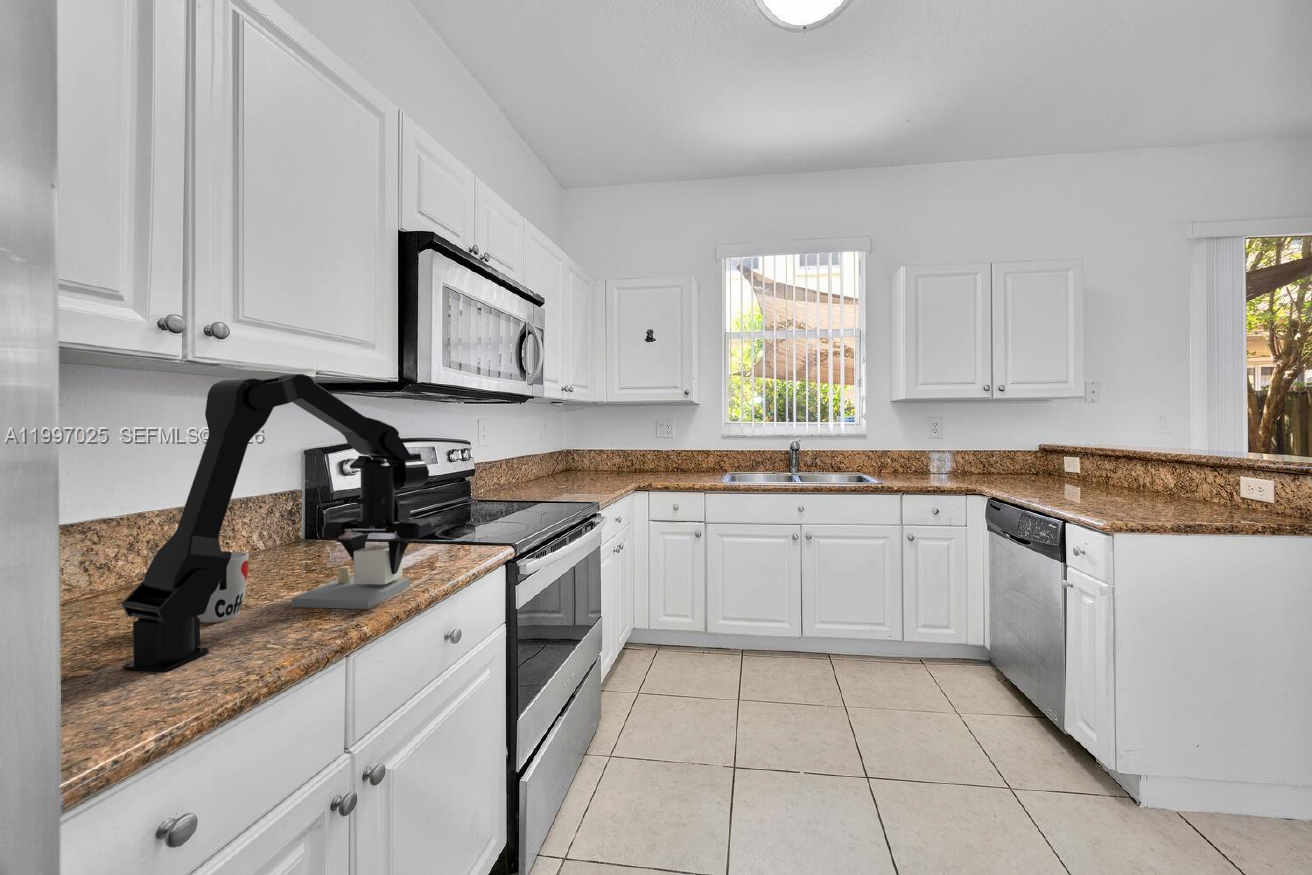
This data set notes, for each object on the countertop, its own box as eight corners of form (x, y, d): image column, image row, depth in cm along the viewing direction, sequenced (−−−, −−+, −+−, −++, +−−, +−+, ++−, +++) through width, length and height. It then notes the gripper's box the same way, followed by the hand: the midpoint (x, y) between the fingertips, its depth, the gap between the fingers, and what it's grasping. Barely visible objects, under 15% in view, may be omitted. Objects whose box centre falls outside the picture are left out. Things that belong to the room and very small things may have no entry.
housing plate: (368, 608, 98) (367, 582, 98) (291, 606, 100) (291, 581, 99) (410, 586, 112) (409, 563, 112) (342, 584, 113) (342, 562, 113)
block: (385, 584, 105) (384, 551, 105) (354, 583, 106) (353, 551, 106) (402, 575, 111) (401, 545, 111) (372, 575, 112) (372, 544, 112)
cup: (216, 627, 89) (215, 564, 89) (174, 624, 91) (173, 561, 91) (261, 611, 97) (260, 552, 97) (222, 608, 99) (221, 550, 99)
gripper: (444, 487, 115) (445, 564, 116) (356, 486, 117) (357, 562, 117) (416, 493, 104) (417, 578, 105) (320, 492, 106) (321, 576, 106)
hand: (378, 573), depth 108 cm, fingers closed on block, 6 cm apart
